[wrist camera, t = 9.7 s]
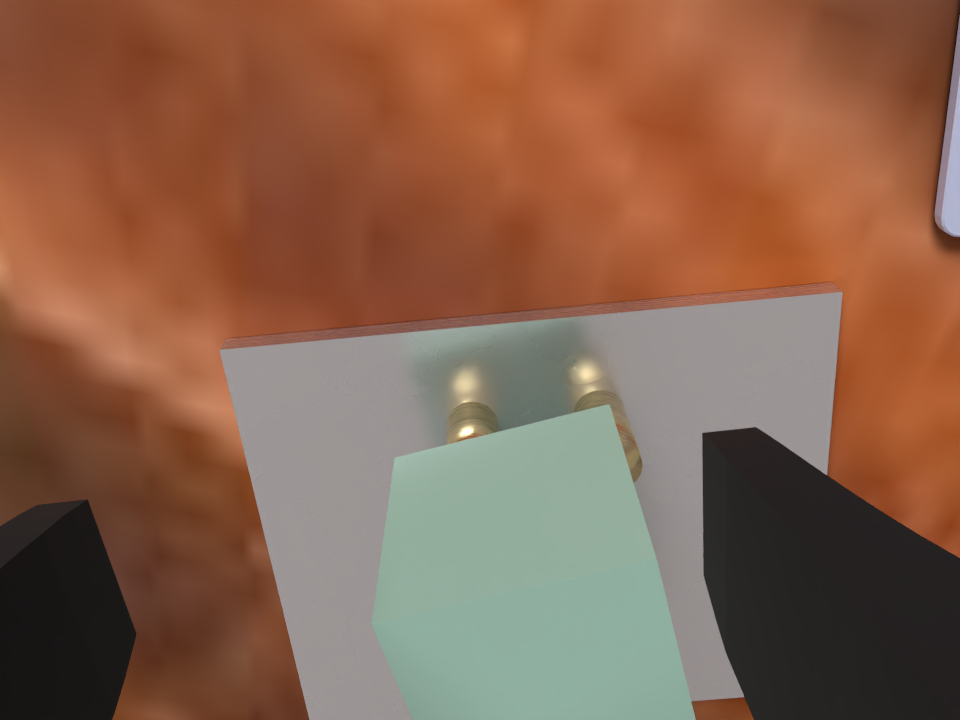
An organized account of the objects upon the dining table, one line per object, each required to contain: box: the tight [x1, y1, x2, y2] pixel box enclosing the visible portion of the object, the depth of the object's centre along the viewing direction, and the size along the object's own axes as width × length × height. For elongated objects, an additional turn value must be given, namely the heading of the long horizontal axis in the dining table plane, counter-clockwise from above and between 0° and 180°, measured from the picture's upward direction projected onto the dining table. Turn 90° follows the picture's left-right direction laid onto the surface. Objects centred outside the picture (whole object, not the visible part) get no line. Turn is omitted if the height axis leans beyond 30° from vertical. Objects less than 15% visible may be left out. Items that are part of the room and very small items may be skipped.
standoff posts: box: [446, 390, 643, 483], centre depth 21 cm, size 4×8×2 cm, turn 5°
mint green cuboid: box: [372, 404, 696, 720], centre depth 18 cm, size 5×9×5 cm, turn 16°
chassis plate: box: [220, 282, 843, 720], centre depth 23 cm, size 14×12×1 cm
